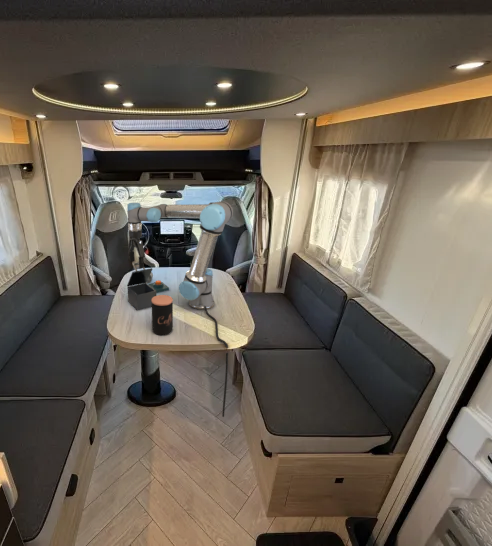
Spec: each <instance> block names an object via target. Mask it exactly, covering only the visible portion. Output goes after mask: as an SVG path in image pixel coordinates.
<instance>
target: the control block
mask: <svg viewBox="0 0 492 546" xmlns="http://www.w3.org/2000/svg"><path fill="white" fill-rule="evenodd" d="M147 284H148V285H149V286H151V287H152V288H153V289H154V290H156V294H159V293H163V292H167V291H170V287H169V286H168V285H166V284H165V283H164V282H162V281H161V284H159V285H157V284H156V281H154V282H152V283H151V282H150V283H147Z"/></svg>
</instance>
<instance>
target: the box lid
mask: <svg viewBox="0 0 492 546" xmlns="http://www.w3.org/2000/svg"><path fill="white" fill-rule="evenodd" d="M131 263H132V264H131V265H132V266H133V267H134V270H135V271H132V272H131V274H130V277H129V280H128V282H127V284H126V286H127V287H129V286H134V285H138V284H143V283H146V282H147V280H148V278H149V276H150V274H151V272H152V271H153V268H152V267H150V268H147V269H146V268H145V267H144V268H142V269H139V270H138V269H137V267H136V266H139V260H138V261H134V262H131Z"/></svg>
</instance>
